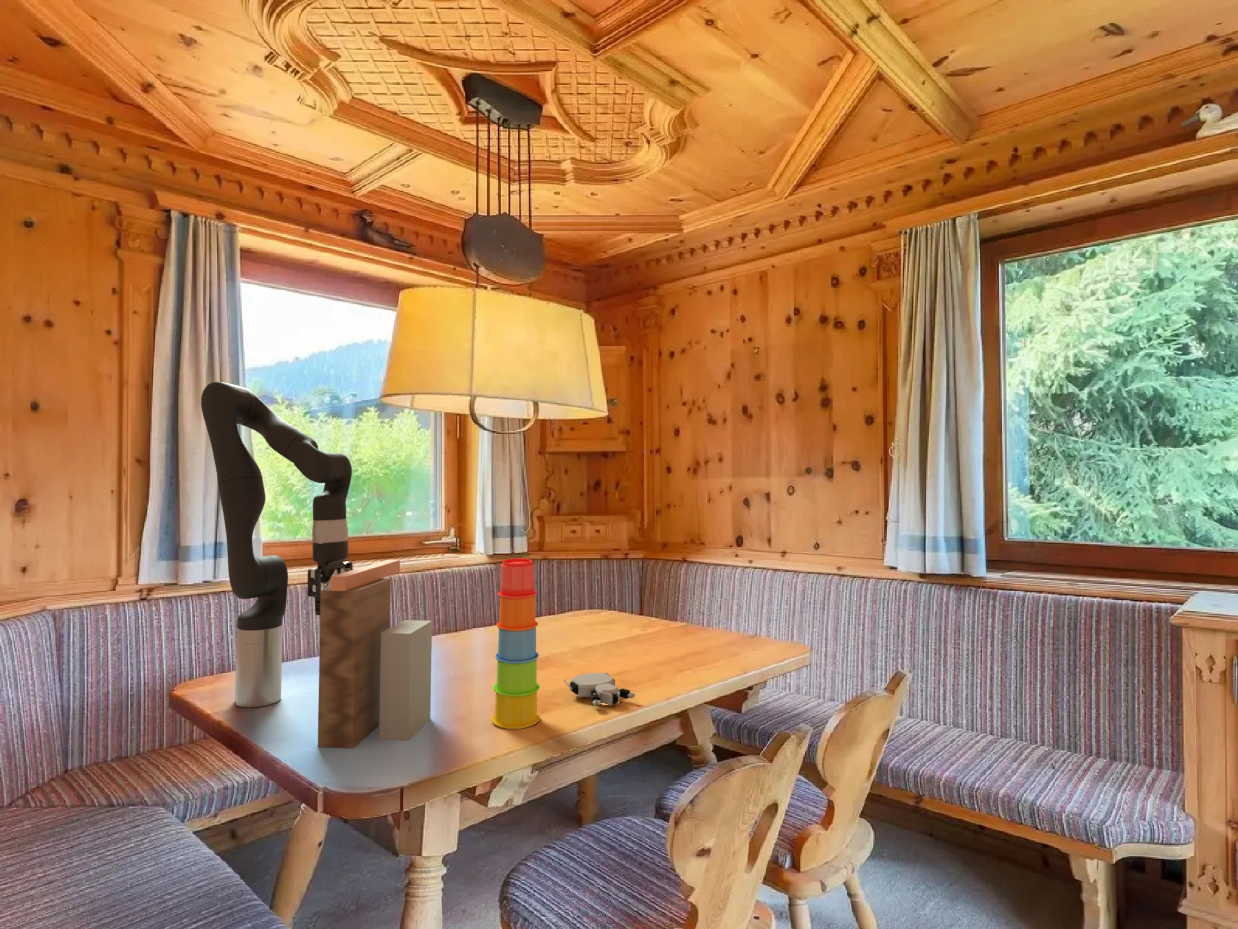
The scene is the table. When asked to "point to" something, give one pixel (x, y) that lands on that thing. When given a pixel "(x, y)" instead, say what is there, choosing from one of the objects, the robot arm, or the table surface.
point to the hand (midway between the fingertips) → (332, 611)
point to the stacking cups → (516, 648)
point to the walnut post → (351, 662)
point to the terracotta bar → (364, 575)
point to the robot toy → (598, 688)
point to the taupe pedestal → (405, 679)
